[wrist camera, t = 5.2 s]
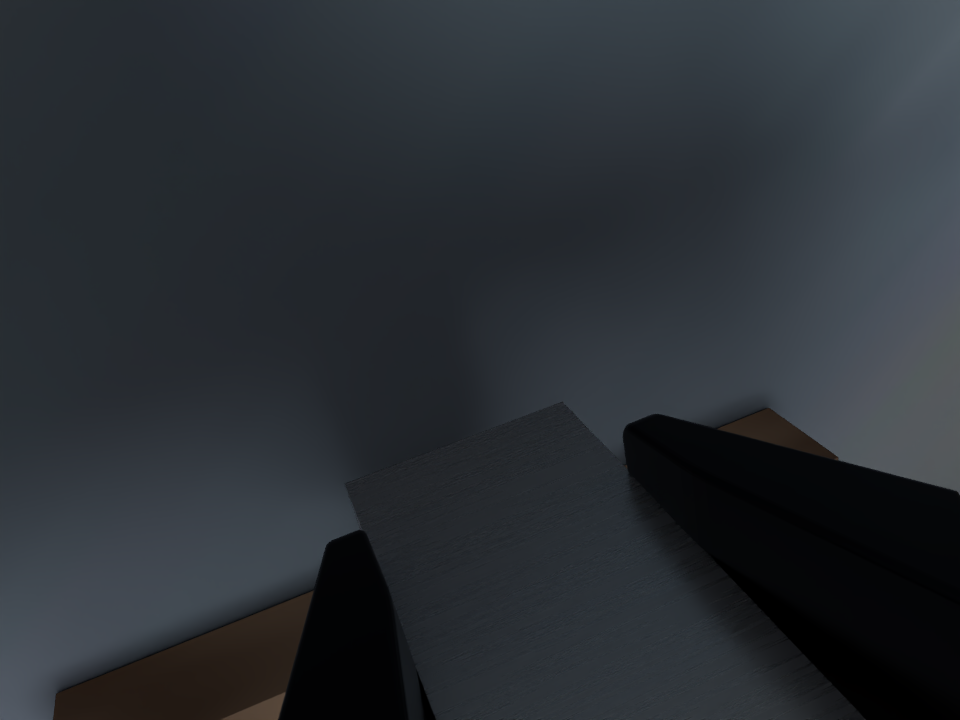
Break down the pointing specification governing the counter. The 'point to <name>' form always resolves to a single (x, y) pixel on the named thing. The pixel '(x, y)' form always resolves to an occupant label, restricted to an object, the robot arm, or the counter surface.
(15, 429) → the counter surface
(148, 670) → the track board
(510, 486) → the slider
